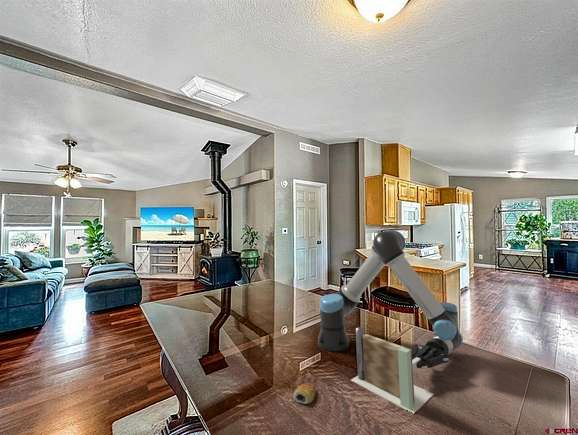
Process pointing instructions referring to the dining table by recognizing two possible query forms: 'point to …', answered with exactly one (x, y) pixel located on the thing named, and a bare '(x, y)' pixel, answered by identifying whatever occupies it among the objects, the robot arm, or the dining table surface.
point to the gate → (383, 364)
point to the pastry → (304, 393)
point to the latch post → (405, 378)
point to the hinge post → (360, 353)
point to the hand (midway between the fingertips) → (409, 367)
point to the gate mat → (419, 395)
